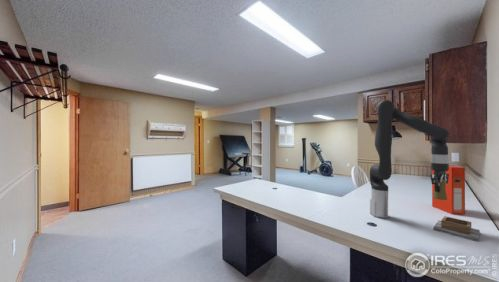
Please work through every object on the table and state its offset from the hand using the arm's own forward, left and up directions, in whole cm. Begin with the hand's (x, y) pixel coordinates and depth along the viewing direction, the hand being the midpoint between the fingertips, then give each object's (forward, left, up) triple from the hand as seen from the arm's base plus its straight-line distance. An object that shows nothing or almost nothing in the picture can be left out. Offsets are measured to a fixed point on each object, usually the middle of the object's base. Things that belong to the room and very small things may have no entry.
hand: (440, 191), depth 114 cm
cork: (0, 0, -4) cm, 4 cm away
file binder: (+28, +31, -20) cm, 46 cm away
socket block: (+3, -7, -20) cm, 21 cm away
